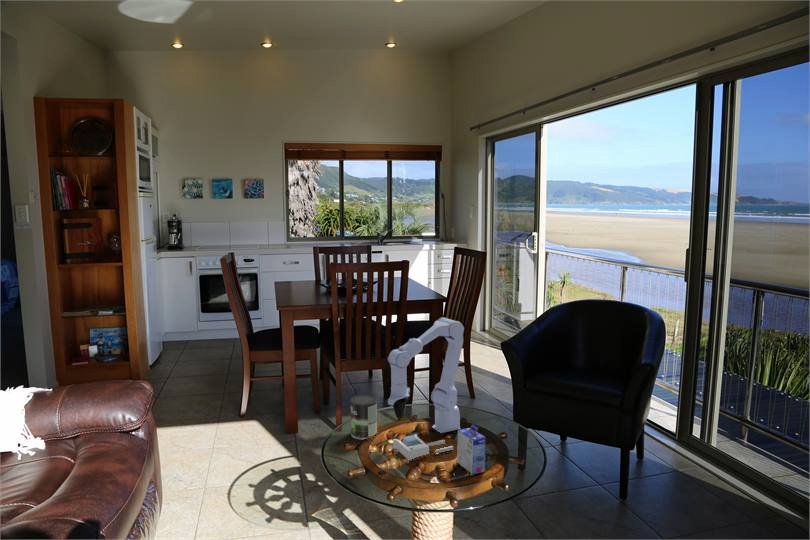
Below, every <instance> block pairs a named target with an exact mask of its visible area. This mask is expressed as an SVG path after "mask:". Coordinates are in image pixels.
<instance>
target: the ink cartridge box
mask: <svg viewBox="0 0 810 540" xmlns="http://www.w3.org/2000/svg"><path fill="white" fill-rule="evenodd" d="M478 430H479V427H478V426H476V425H475V424H471V426H470V427H466V428H462V429H457V448H456V449H457V452H456V454H457V455H456V462H457V464H459V465H460V466H461V467H462V468H464V469H465V470H467V471H468V472H469V473H470V474H471V475H477V474H480V473H481V474H482V473H486V444H487V443H486V442H487V441H486V438H487V437H486V436H484V435H483V434H481V433H479V432H478Z"/></svg>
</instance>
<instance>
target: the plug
mask: <svg viewBox="0 0 810 540" xmlns="http://www.w3.org/2000/svg"><path fill="white" fill-rule="evenodd" d="M403 444H405V445H406V446H407V447H409V446H414V445H418V439H417V438H416V437H415V434H413V435H407V436H404V437H403Z"/></svg>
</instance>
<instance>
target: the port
mask: <svg viewBox="0 0 810 540" xmlns="http://www.w3.org/2000/svg"><path fill="white" fill-rule="evenodd" d="M414 436H415V437H416V438H417V439H418V445H414V446H409V447H407V446H406V445H405V444H404V442H402V440H400V439H397V438H393V440H392V442H393V443H392V445H393V446H392V447H393V450H394V449H395V450H396V451H398V452H399V453H400V454H401V455H402V456H403V457H404V458H406V459H407V460H408V461H413V460H415V459H414V458H416V457H419V456H422V455H426V454H429V455H430V449H429V446H428V445H427V443H425V441H424V440H422V439H420V438H419V437H418V434H414ZM412 459H413V460H412Z"/></svg>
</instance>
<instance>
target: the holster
mask: <svg viewBox="0 0 810 540" xmlns="http://www.w3.org/2000/svg"><path fill="white" fill-rule="evenodd" d="M426 444H427V445H428V446H434V445H440V444H445V445H446V440H445V439H441V440H436V441H433V442H432V441H431V442H427V443H426ZM450 450H453V451H454V446H453V445H449V446H448V447H444V448H440V449H436V450H435V452H436V453H439V452H445V451H450Z"/></svg>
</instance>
